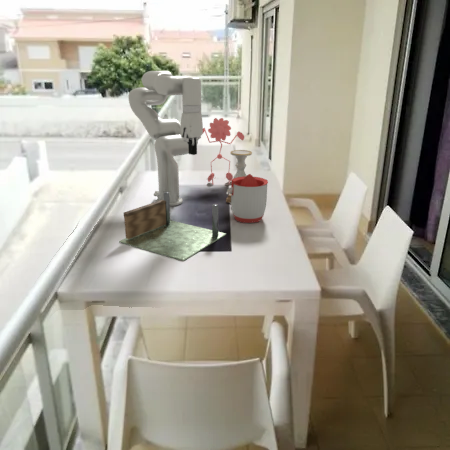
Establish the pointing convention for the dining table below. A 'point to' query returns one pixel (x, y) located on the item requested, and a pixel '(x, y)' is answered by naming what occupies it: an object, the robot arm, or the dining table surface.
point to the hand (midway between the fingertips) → (192, 154)
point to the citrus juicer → (248, 198)
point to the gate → (145, 218)
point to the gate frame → (177, 236)
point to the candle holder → (239, 165)
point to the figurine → (220, 132)
